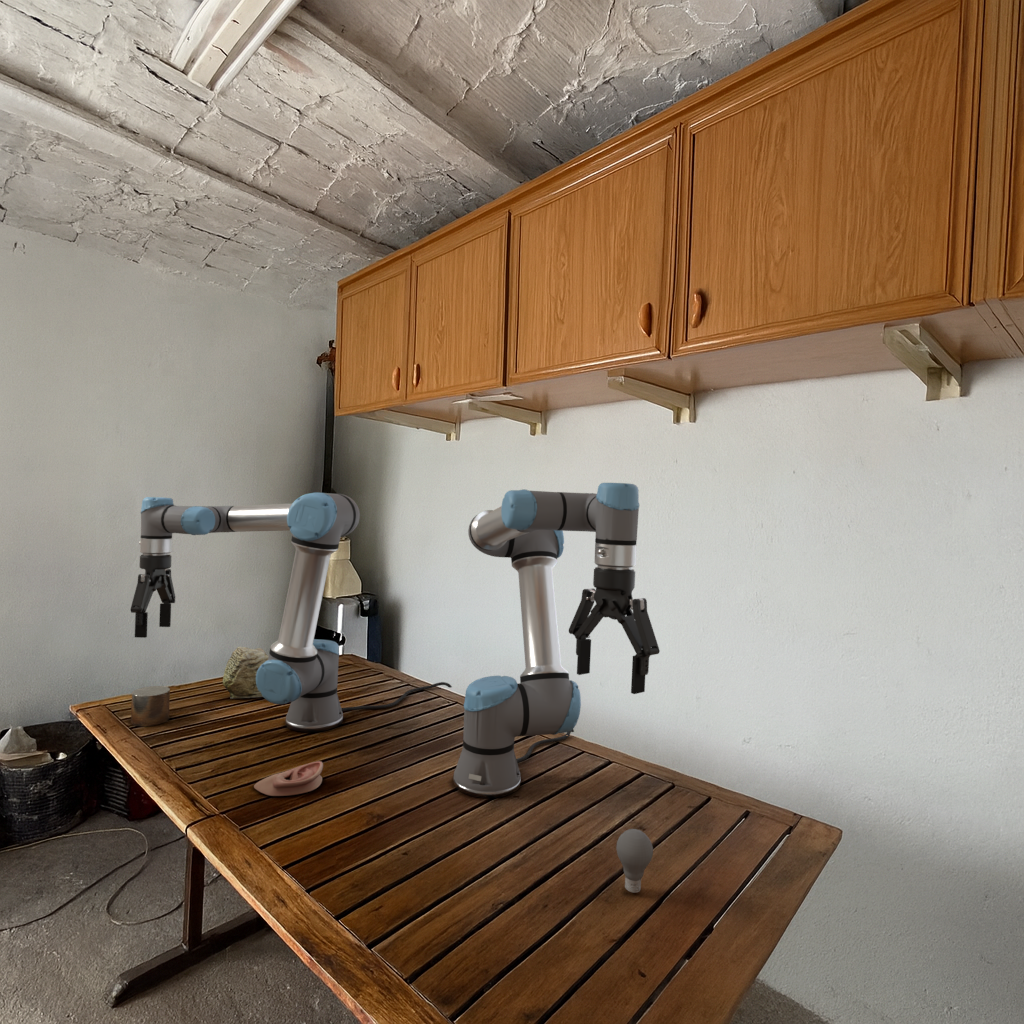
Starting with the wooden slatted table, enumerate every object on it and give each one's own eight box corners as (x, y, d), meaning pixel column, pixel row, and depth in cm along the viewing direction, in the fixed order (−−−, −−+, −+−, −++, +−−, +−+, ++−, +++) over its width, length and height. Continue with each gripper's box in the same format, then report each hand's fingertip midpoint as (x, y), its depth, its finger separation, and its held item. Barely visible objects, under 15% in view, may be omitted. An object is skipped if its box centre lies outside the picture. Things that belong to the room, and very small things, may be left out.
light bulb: (610, 879, 108) (613, 822, 108) (644, 879, 109) (647, 822, 109) (619, 902, 102) (622, 840, 102) (655, 901, 103) (658, 840, 103)
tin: (160, 726, 169) (161, 696, 169) (124, 726, 168) (125, 695, 168) (174, 715, 178) (175, 686, 178) (140, 714, 177) (141, 685, 177)
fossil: (218, 695, 195) (220, 647, 195) (278, 685, 208) (279, 640, 207) (228, 703, 189) (230, 653, 188) (289, 692, 201) (290, 645, 201)
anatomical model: (246, 773, 134) (276, 753, 145) (245, 792, 134) (276, 770, 145) (303, 782, 131) (330, 760, 142) (302, 801, 131) (329, 777, 142)
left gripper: (162, 549, 184) (160, 622, 184) (116, 557, 159) (113, 641, 160) (189, 550, 185) (187, 623, 185) (147, 558, 160) (145, 642, 160)
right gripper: (553, 560, 123) (549, 669, 124) (655, 576, 104) (649, 705, 104) (581, 559, 128) (576, 664, 128) (683, 574, 108) (677, 697, 109)
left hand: (153, 631), depth 172 cm, fingers open, 13 cm apart
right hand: (609, 682), depth 116 cm, fingers open, 13 cm apart
